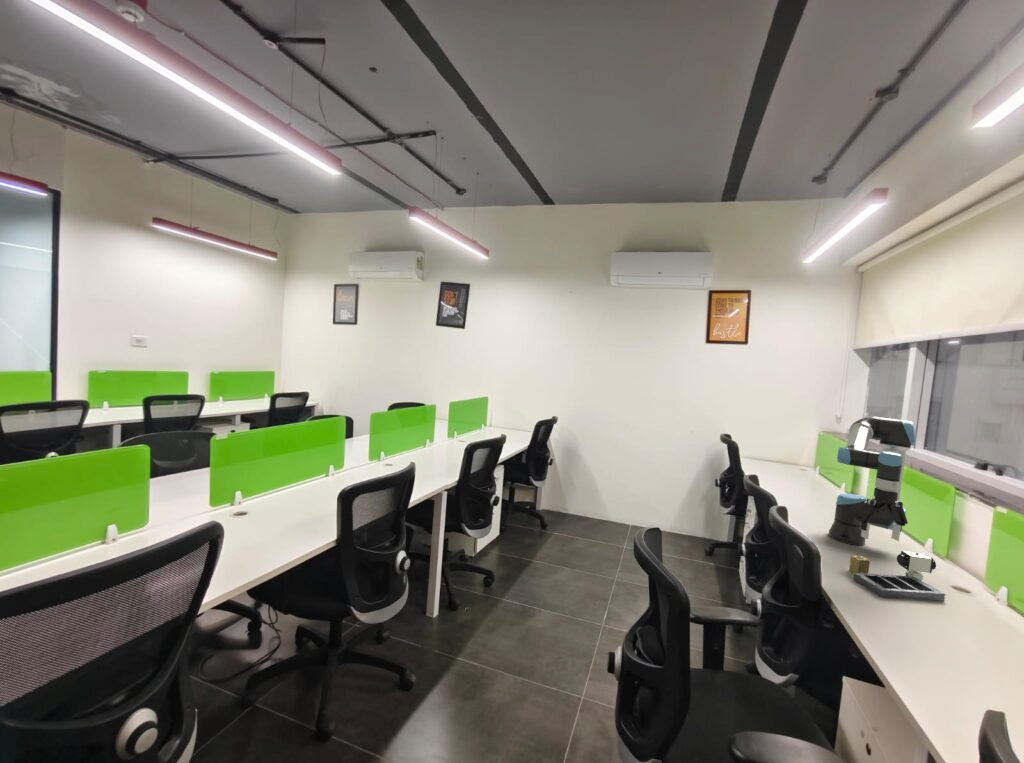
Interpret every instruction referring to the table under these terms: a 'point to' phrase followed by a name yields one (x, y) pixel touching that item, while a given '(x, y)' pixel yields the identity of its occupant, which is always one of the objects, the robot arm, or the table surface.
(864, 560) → the tan rectangular block
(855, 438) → the robot arm
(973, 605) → the table surface
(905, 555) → the white security camera
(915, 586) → the grey slotted tray
